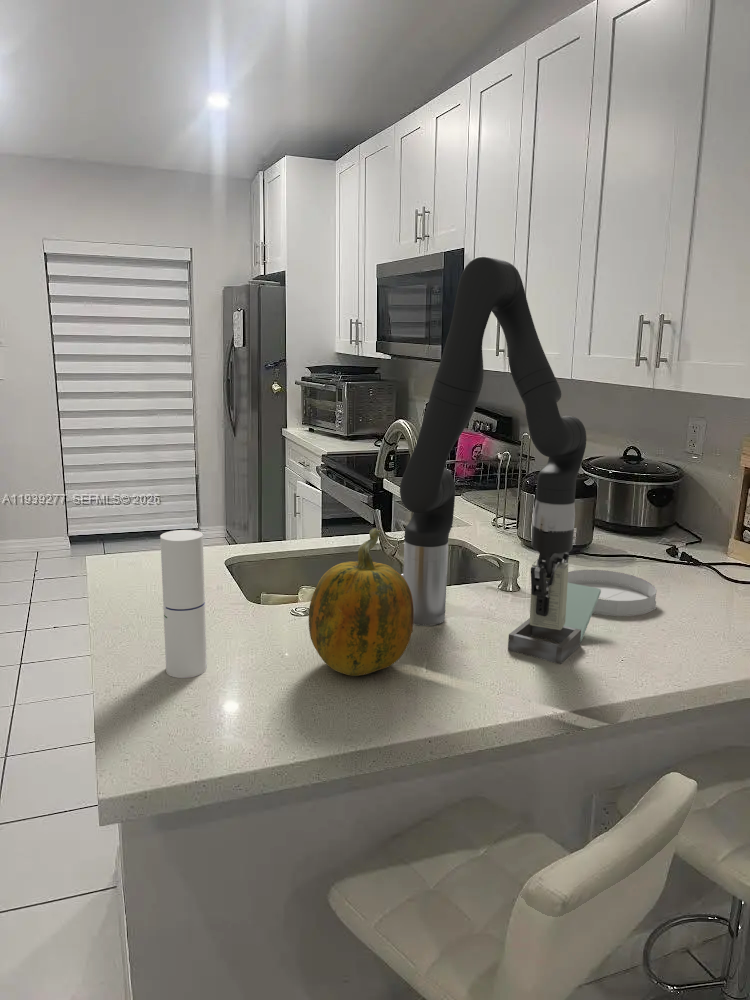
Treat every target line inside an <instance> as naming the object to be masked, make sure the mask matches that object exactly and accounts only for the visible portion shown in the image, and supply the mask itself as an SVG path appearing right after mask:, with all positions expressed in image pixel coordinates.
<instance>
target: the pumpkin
mask: <svg viewBox="0 0 750 1000" xmlns="http://www.w3.org/2000/svg"><path fill="white" fill-rule="evenodd" d="M381 531H382V529H377V527H374V528H372V529H370V530H369V532H368V534H369V539H368V540H367V541H364V542H363V543H362V544H360V545H359V547H358V550H357V560H356V561H345V562H341V563H338V564H336V565H334V566H332V567H331V568H329V569H328V570H327V571H325V573H324V574H323V575H322V576H321V578H320V579H319V581H318V583H317V585H316V587H315V589H314V591H313V594H312V596H311V599H310V603H309V608H308V630H309V637H310V640H311V643H312V645H313V647H314V649H315V651H316V652H317V654H318V655H319V657H320V658H321V660H322V661H323V662H324V663H325V665H327V667H329V668H330V669H332V670H334V671H336V672H338V673H340V674H343V675H347V676H353V677H354V676H355V677H356V676H357V677H359V676H364V675H369V674H372V673H374V672H377V671H380V670H383V669H386V668H389V667H391V666H393V665H394V664H395V663H396V662H398V660H399V659H400V658H401V657H402V656H403V654H404V653H405V651H406V649H407V648H408V646H409V644H410V641H411V637H412V634H413V633H414V632H413V631H414V624H413V620H414V609H413V599H412V594H411V591H410V588H409V586H408V584H407V582H406V580H405V579H404V578H403V577H402V576H401V574H400V572H398V571H397V570H396V569H394V568H393V567H392V566H390V565H388V564H385V563H380V562H377V561H373V558H372V555H371V554H370V551H371V550H372V549H373V548H374V547H375V546H376V544H377V542H378V539H379V537H380V536H381V534H380V532H381Z"/></svg>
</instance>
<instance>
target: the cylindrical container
mask: <svg viewBox="0 0 750 1000" xmlns="http://www.w3.org/2000/svg"><path fill="white" fill-rule="evenodd" d="M159 536H160V556H161V557H160V558H161V559H160V560H161V576H162V577H161V580H162V581H161V582H162V583H161V584H162V603H163V604H162V606H163V627H164V630H163V631H164V649H165V650H164V654H165V671H166V674H167V675H168V676H170V677H173V678H176V679H177V678H178V679H188V678H194V677H197V676H201V675H202V674H204V673H205V672H206V671H207V670H208V663H207V662H208V661H207V660H208V657H207V633H206V631H207V630H206V629H207V628H206V593H205V569H204V568H205V566H204V565H205V564H204V556H205V555H204V534H203V533H202V532H201V531H198V530H193V529H178V530H170V531H166V532H163V533H162V534H160V535H159Z"/></svg>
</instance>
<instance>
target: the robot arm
mask: <svg viewBox="0 0 750 1000" xmlns="http://www.w3.org/2000/svg"><path fill="white" fill-rule="evenodd" d="M454 301H455V302H454V307H453V312H452V316H451V322H450V327H449V331H448V334H447V337H446V342H445V345H444V348H443V350H442V356H441V359H440V363H439V365H438V368H437V372H436V374H435V376H434V377H435V378H434V381H433V383H432V384H433V385H432V386H431V391H430V394H429V398H428V401H427V406H426V409H425V413H424V416H423V420H422V423H421V426H420V430H419V434H418V437H417V440H416V443H415V445H414V449H413V452H412V453H411V456H410V459H409V461H408V463H407V465H406V468H405V470H404V472H403V475H402V478H401V480H400V485H399V496H400V499H401V502H402V504H403V506H404V507H405V509H407V510H408V511H409V512H412V515H411V519H410V520H409V522H408V524H407V525H406V527H405V529H404V539H403V540H404V543H403V546H404V547H403V571H402V572H403V573H401V574H400V575H401V576H402V577H403V578H404V579H405V580H406V582H407V584H408V586H409V588H410V591H411V594H412V599H413V609H414V620H413V625H416V626H426V627H427V626H434V625H435V626H436V625H439V624H442V623H443V622H444V621H445V620H446V603H447V600H446V599H447V582H448V581H447V579H448V560H449V559H448V556H449V536H450V533H451V531H452V527H453V522H454V515H455V514H454V512H455V503H456V502H455V500H456V485H455V480H454V477H453V475H452V473H451V471H450V470H449V469H448V468H447V467H446V465H447V463H448V462H447V461H448V459H449V456H450V453H451V452H452V450H453V447H455V446H454V445H455V444H456V443H457V441H458V440H459V439H460V437H461V435H462V434H463V432H464V431H465V429H466V427H467V426H468V424H469V422H470V421H471V418H472V417H473V415H474V412H475V409H476V406H477V403H478V400H479V398H480V397H479V396H480V394H481V390H482V388H483V387H482V386H483V383H484V357H483V340H484V335H485V331H486V328H487V324H488V322H489V319H490V315H491V314H492V313H493V315H494V317H495V318H496V320H497V321H498V323H499V325H500V328H501V330H502V332H503V334H504V339H505V341H506V348H507V357H508V358H507V359H508V366H509V371H510V375H511V377H512V380H513V382H514V385H515V387H516V389H517V392H518V394H519V396H520V398H521V400H522V403H523V405H524V407H525V417H526V422H527V426H528V431H529V435H530V439H531V441H532V444H533V446H534V447H535V449H536V450H538V452H539V453H540V454H542V455H543V456H545V457H547V458H548V459H547V460H548V461H547V463H546V465H545V467H543V468H542V469H540V471H539V472H538V475H537V479H536V490H535V491H536V493H535V502H534V508H533V514H532V529H531V543H530V544H531V547H532V549H534V550H536V551H537V552H538V553H539V555H538V558H537V559H538V560H537V559H536V560H537V564H536V565H538V566H537V567H534V566H532V565H531V568H530V581H531V582H530V584H531V586H530V587H531V588H530V590H531V589H532V595H536V596H537V602H536V614H537V615H541V616H547V615H548V610H549V596H550V591H551V586H553V585H554V581H555V571H556V570H557V568H558V567H559V564H560V565H562V564H564V563H568V564H569V559H570V552H571V551H573V546H574V545H573V544H574V532H575V522H576V520H575V519H576V508H575V507H576V506H575V505H576V504H575V501H576V491H577V490H576V489H577V478H578V475H579V472H580V469H581V466H582V463H583V459H584V455H585V451H586V449H587V448H586V446H587V431H586V428H585V426H584V424H583V422H582V421H581V420H580V419H579V418H577V417H575V416H571V415H564V416H563V415H562V416H561V414H560V410H559V406H558V402H559V401H560V400H561V399H562V390H561V387H560V385H559V382H558V380H557V378H556V376H555V374H554V371H553V368H552V367H551V365H550V363H549V360H548V358H547V356H546V354H545V351H544V349H543V346H542V344H541V341H540V339H539V335H538V333H537V330H536V326H535V323H534V320H533V317H532V313H531V309H530V307H529V302H528V300H527V295H526V291H525V287H524V283H523V280H522V277H521V275H520V273H519V270H518V268H516V267H515V265H514V264H512V263H510V262H508V261H505V260H502V259H499V258H496V257H495V258H494V257H491V256H486V255H485V256H484V255H483V256H482V255H481V256H477V257H475V258H472V259H471V260H470V261H469V262H468V263H467V264H466V266H465V267H464V269H463V271H462V273H461V275H460V278H459V282H458V286H457V290H456V295H455V300H454ZM550 577H551V579H550V580H549V581H547V580H546V578H550ZM546 585H547V588H546ZM540 589H542V590H540Z"/></svg>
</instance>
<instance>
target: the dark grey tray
mask: <svg viewBox="0 0 750 1000" xmlns="http://www.w3.org/2000/svg"><path fill="white" fill-rule="evenodd" d="M532 636H533V637H532ZM534 637H536V638H534ZM537 638H538V639H537ZM539 638H540V639H539ZM542 639H545V640H548V641H545V640H542ZM580 639H581V630H580V629H576V628H572V627H567V626H563V628H562V629H561V630H557V629H550V628H544V627H538V626H532V625H530V617H529V618H528V619H527V620H525V621H524V622H523V623H522V624H520V625H519V626H518V627H516V628H515V629H514V630H512V631H511V632H510V633H508V640H507V651H510V652H513V653H517V654H521V655H525V656H529V657H533V658H536V659H539V660H544V661H547V662H550V663H555V664H557V665H558V664H559V665H562V664H563V662H566V660H567V659H568V658H569V657H570V656H571V655H572V654H573V653H574V652H575V651H576V650H577V649H578V648H579V647H581V643H580ZM550 641H552V642H550ZM553 642H556V643H553ZM558 643H559V644H558Z"/></svg>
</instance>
